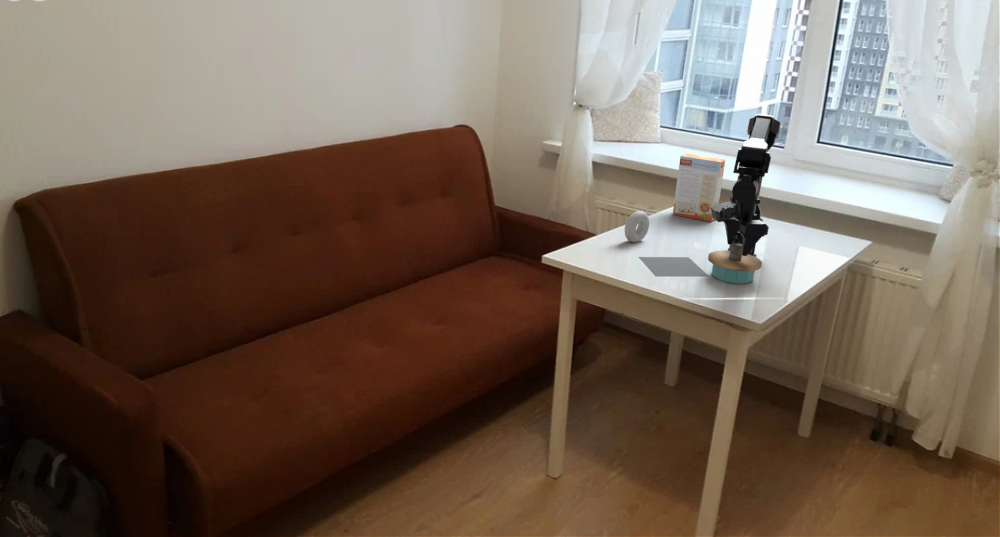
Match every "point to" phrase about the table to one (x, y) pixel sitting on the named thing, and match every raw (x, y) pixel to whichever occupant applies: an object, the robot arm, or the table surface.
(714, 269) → the bowl
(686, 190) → the cracker box
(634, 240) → the donut
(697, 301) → the table surface
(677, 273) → the mat
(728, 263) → the lid
